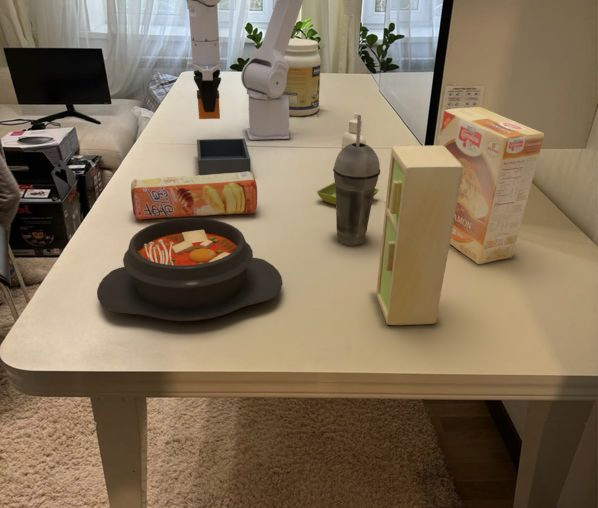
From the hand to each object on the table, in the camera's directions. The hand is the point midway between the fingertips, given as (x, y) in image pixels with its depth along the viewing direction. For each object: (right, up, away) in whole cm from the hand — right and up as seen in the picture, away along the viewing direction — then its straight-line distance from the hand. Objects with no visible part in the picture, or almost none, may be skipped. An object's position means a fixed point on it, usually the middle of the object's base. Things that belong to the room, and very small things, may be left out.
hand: (209, 108), depth 130 cm
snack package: (+1, -29, -25) cm, 38 cm away
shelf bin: (+4, -15, -5) cm, 16 cm away
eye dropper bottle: (+30, -16, -7) cm, 35 cm away
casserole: (+5, -45, -47) cm, 65 cm away
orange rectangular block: (0, -1, +1) cm, 2 cm away
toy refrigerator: (+34, -47, -49) cm, 76 cm away
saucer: (+29, -25, -18) cm, 42 cm away
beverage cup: (+28, -34, -31) cm, 54 cm away
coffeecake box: (+47, -35, -31) cm, 66 cm away
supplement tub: (+19, +12, +32) cm, 39 cm away
